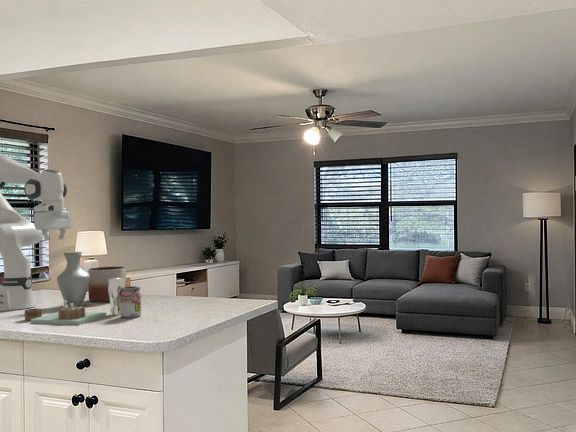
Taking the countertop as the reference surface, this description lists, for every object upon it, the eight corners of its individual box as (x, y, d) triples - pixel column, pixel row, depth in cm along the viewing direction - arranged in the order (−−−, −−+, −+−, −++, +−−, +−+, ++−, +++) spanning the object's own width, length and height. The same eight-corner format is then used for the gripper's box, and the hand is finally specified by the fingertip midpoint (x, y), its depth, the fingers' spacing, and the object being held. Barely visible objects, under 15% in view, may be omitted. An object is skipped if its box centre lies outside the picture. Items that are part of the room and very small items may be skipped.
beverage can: (134, 319, 226) (134, 289, 225) (115, 319, 227) (114, 289, 227) (144, 314, 235) (144, 286, 235) (125, 314, 236) (125, 286, 236)
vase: (76, 309, 254) (74, 253, 254) (50, 307, 259) (49, 253, 259) (97, 303, 267) (96, 250, 267) (72, 302, 272) (71, 250, 272)
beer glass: (110, 316, 233) (109, 279, 233) (107, 313, 239) (106, 278, 239) (127, 314, 237) (126, 278, 236) (124, 312, 243) (123, 277, 243)
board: (30, 323, 222) (30, 305, 222) (60, 314, 239) (60, 298, 239) (79, 324, 216) (79, 306, 216) (106, 316, 234) (106, 299, 234)
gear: (21, 320, 228) (21, 310, 228) (32, 318, 234) (31, 307, 234) (34, 321, 226) (34, 310, 226) (44, 318, 232) (44, 308, 232)
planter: (111, 296, 291) (110, 265, 291) (134, 298, 281) (133, 267, 281) (81, 301, 277) (80, 269, 277) (103, 304, 266) (102, 270, 266)
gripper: (62, 207, 252) (63, 238, 252) (30, 207, 233) (31, 241, 233) (74, 207, 251) (75, 238, 251) (44, 207, 231) (45, 241, 231)
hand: (54, 239), depth 242 cm, fingers open, 8 cm apart
